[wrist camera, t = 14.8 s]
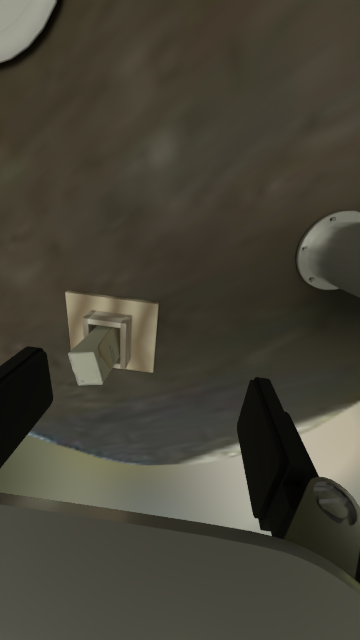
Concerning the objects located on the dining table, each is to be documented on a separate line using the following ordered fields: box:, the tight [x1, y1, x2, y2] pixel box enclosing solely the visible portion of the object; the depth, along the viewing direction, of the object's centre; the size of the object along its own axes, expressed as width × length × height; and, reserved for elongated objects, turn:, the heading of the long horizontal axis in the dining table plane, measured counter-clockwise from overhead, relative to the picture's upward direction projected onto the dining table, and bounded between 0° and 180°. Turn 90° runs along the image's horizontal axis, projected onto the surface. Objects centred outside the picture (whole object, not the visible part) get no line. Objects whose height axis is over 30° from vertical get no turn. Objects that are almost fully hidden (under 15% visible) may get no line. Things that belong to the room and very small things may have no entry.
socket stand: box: [65, 291, 159, 373], centre depth 45 cm, size 18×16×5 cm
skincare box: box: [68, 325, 120, 385], centre depth 41 cm, size 6×4×12 cm
